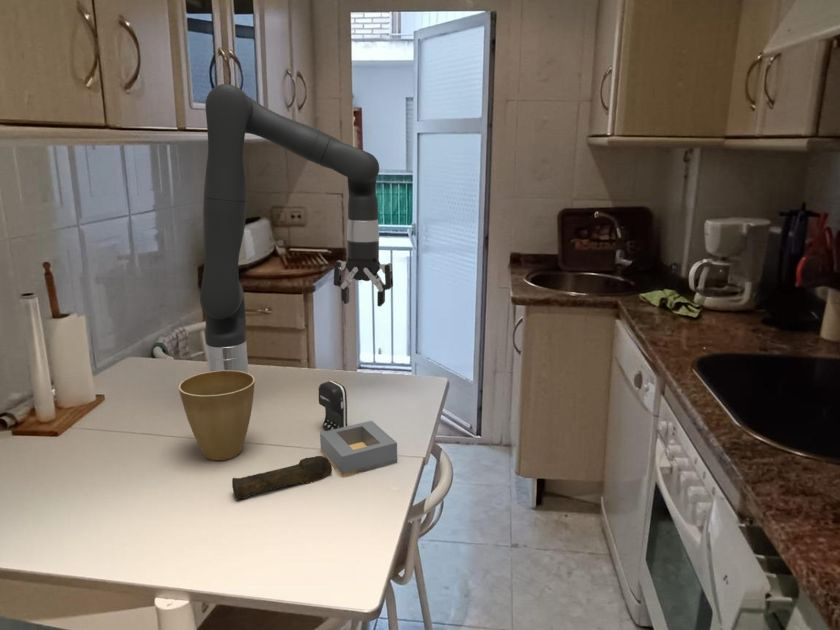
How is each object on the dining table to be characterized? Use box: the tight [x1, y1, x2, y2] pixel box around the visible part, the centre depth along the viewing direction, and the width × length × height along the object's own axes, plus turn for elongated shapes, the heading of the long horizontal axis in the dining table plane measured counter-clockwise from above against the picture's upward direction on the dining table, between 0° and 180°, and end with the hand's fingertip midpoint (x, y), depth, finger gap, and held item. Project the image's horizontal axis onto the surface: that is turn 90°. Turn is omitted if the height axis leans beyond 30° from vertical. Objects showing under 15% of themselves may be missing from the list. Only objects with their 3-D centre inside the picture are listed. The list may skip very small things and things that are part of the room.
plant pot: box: [178, 370, 256, 461], centre depth 132 cm, size 15×15×16 cm
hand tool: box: [231, 455, 333, 501], centre depth 120 cm, size 19×4×5 cm, turn 115°
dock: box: [319, 420, 398, 478], centre depth 131 cm, size 12×12×4 cm
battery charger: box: [318, 380, 348, 431], centre depth 142 cm, size 7×4×11 cm, turn 41°
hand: (363, 304), depth 154 cm, fingers open, 8 cm apart
